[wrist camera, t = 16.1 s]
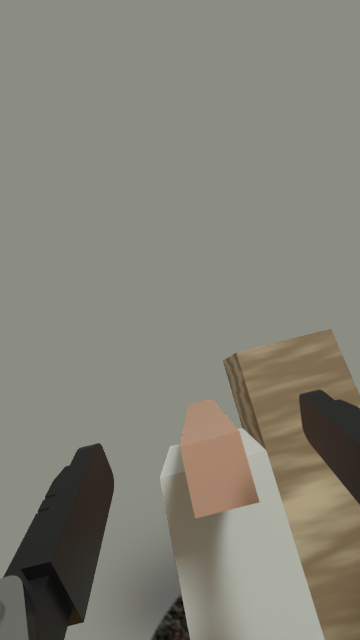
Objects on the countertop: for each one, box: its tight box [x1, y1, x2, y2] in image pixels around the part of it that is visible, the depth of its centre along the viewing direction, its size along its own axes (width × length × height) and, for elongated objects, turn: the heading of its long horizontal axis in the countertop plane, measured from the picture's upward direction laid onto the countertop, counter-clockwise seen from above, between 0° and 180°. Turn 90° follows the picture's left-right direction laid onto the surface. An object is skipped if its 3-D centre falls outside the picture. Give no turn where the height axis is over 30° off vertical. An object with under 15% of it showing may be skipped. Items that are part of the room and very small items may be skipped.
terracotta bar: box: [180, 399, 259, 518], centre depth 23 cm, size 22×4×4 cm, turn 177°
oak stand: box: [223, 329, 360, 640], centre depth 34 cm, size 14×14×32 cm
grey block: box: [160, 428, 325, 640], centre depth 20 cm, size 9×9×23 cm
